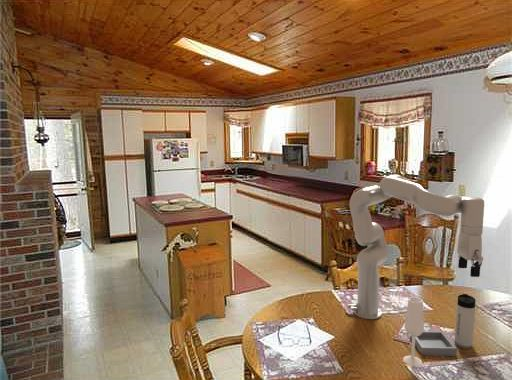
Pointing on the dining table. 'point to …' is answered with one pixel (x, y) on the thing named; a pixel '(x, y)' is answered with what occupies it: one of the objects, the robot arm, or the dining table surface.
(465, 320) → the travel mug
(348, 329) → the dining table surface
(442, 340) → the tray
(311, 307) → the dining table surface
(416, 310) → the champagne flute
